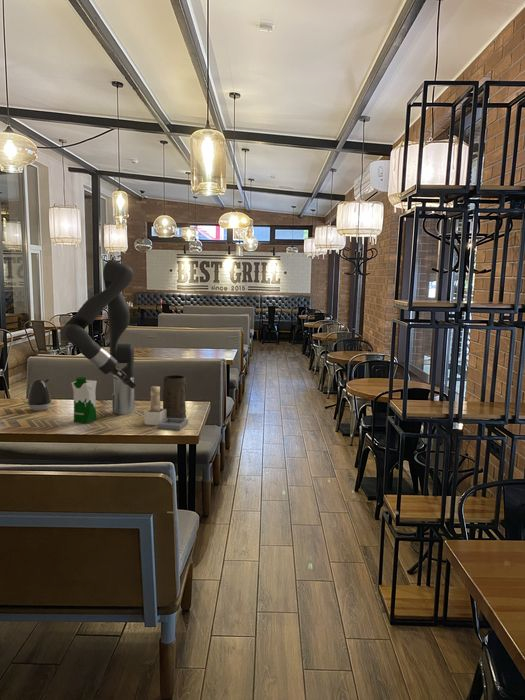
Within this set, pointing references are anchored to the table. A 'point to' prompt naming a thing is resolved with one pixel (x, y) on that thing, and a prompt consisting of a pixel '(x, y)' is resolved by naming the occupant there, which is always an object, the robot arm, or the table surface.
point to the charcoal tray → (173, 424)
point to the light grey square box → (154, 417)
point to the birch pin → (155, 399)
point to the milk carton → (84, 400)
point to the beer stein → (174, 396)
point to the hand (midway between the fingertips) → (130, 385)
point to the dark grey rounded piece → (39, 395)
